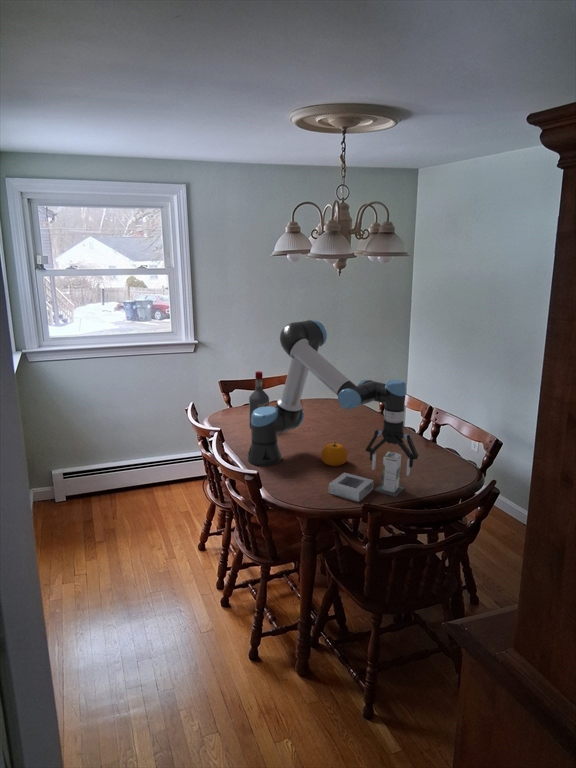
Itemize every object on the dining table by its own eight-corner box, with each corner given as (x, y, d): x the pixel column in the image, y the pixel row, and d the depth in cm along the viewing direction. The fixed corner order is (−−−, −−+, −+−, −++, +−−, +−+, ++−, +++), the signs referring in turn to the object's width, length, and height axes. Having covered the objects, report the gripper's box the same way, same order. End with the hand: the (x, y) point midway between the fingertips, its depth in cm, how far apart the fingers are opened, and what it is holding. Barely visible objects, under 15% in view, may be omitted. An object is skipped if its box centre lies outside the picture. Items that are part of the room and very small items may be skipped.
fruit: (325, 456, 242) (326, 435, 239) (350, 460, 238) (351, 439, 235) (317, 465, 231) (317, 444, 229) (342, 470, 227) (343, 448, 225)
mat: (374, 491, 208) (374, 490, 208) (383, 482, 215) (383, 481, 215) (395, 496, 203) (395, 495, 203) (404, 488, 210) (404, 487, 210)
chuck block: (328, 493, 206) (328, 483, 205) (343, 481, 216) (344, 472, 215) (358, 502, 199) (359, 492, 198) (373, 489, 209) (373, 480, 208)
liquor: (247, 427, 279) (246, 372, 272) (257, 423, 286) (257, 369, 279) (261, 431, 274) (260, 375, 267) (271, 426, 282) (271, 371, 274)
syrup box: (385, 484, 213) (387, 450, 209) (399, 487, 210) (401, 453, 206) (380, 490, 208) (382, 455, 204) (395, 493, 205) (397, 458, 202)
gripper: (359, 418, 203) (357, 469, 209) (425, 427, 194) (421, 480, 199) (364, 413, 210) (362, 462, 215) (428, 421, 200) (424, 473, 206)
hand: (390, 471), depth 207 cm, fingers open, 13 cm apart
